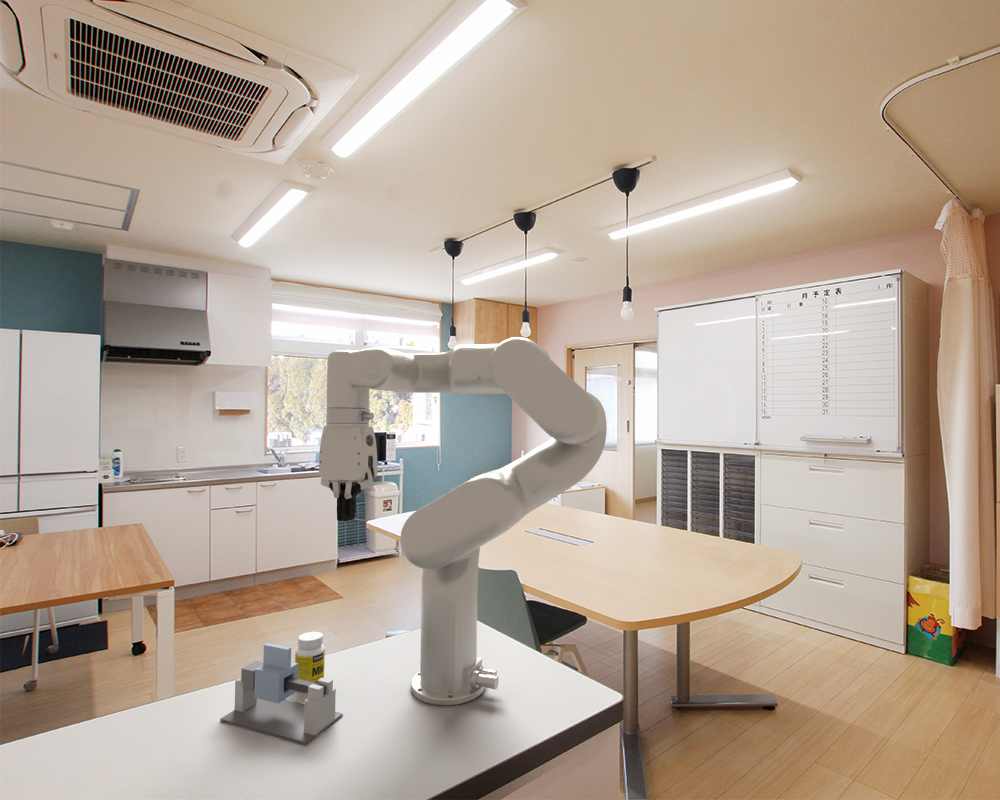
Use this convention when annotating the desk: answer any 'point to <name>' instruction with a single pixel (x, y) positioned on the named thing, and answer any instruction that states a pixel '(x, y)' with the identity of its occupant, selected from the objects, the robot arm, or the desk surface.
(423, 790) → the desk surface
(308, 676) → the supplement bottle
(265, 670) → the light blue step block
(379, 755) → the desk surface
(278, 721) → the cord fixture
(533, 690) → the desk surface
